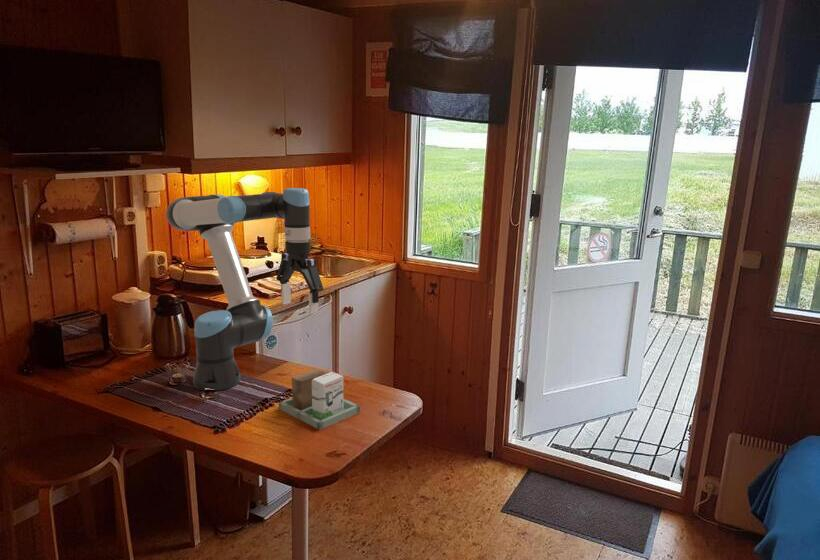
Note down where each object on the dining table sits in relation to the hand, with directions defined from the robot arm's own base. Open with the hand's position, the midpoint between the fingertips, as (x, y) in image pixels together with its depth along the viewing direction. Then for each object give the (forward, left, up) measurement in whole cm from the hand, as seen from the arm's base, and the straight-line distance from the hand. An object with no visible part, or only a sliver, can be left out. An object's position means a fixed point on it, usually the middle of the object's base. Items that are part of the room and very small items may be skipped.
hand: (299, 308), depth 186 cm
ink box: (+19, -5, -28) cm, 34 cm away
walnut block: (+10, -5, -28) cm, 30 cm away
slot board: (+14, -5, -29) cm, 32 cm away
